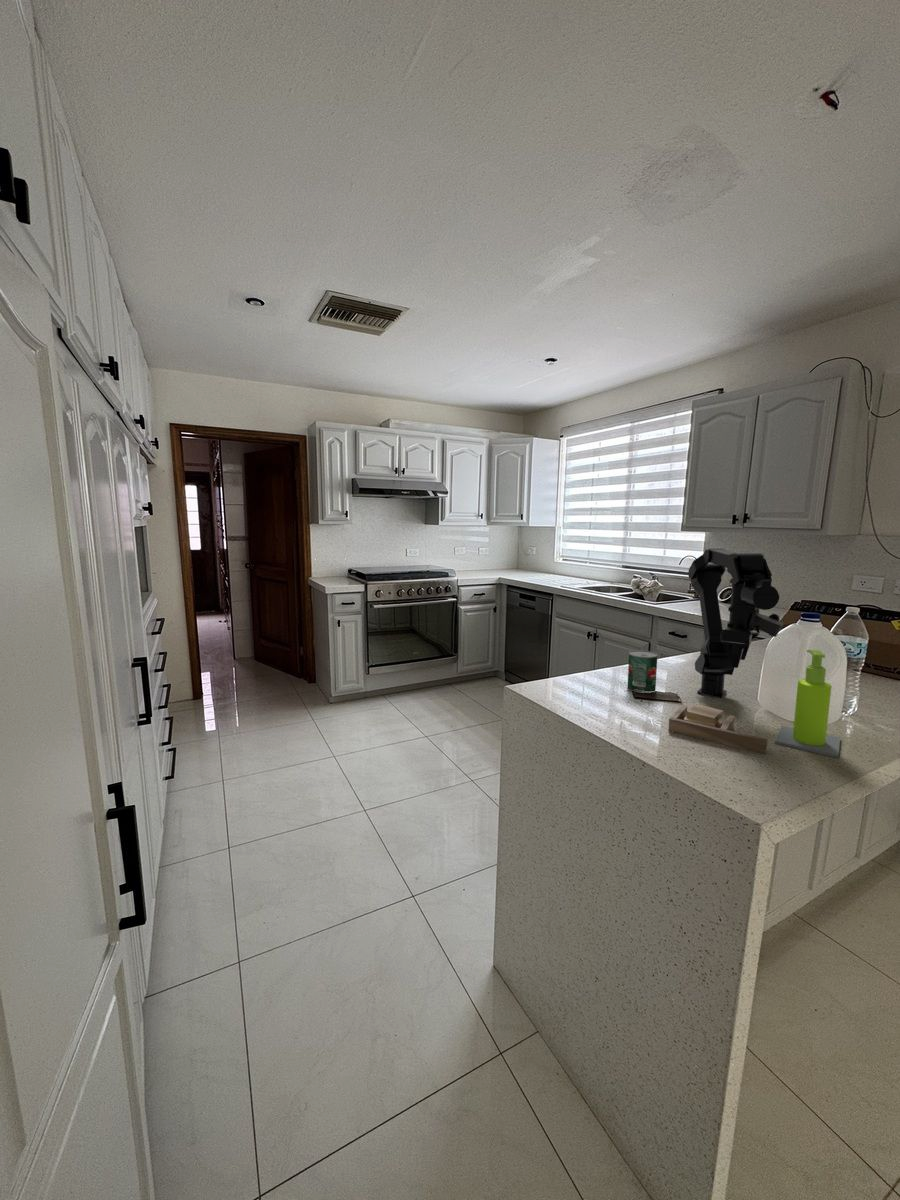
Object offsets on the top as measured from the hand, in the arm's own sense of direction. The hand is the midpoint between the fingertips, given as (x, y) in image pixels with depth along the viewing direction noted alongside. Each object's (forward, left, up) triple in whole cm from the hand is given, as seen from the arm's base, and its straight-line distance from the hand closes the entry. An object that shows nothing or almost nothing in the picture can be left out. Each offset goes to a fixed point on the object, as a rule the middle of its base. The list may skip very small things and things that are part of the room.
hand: (738, 663), depth 125 cm
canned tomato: (-3, -25, -13) cm, 28 cm away
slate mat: (+10, +16, -13) cm, 23 cm away
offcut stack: (+17, -4, -13) cm, 22 cm away
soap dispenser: (+10, +16, -13) cm, 23 cm away
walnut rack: (+17, 0, -13) cm, 21 cm away
